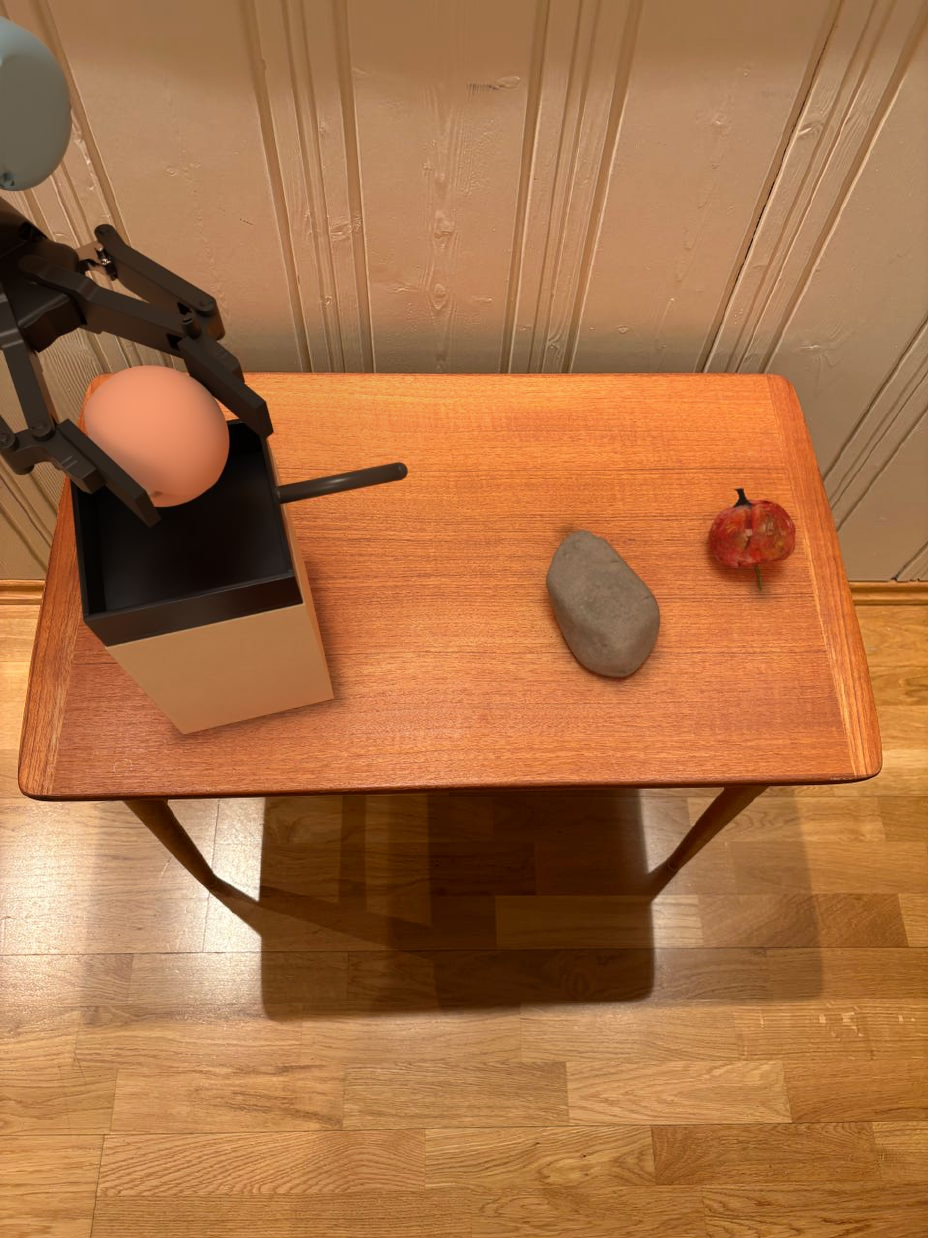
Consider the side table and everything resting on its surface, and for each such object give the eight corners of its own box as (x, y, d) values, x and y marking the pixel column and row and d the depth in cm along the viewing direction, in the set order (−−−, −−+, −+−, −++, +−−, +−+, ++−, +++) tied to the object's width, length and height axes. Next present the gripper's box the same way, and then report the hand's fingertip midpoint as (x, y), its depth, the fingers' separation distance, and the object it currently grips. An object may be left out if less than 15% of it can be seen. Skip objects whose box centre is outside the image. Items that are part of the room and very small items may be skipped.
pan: (106, 647, 54) (82, 621, 50) (89, 484, 59) (66, 449, 55) (430, 575, 57) (431, 545, 53) (388, 426, 62) (385, 389, 58)
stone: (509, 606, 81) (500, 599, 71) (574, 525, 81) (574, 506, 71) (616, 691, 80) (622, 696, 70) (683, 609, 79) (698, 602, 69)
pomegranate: (781, 575, 82) (769, 474, 80) (816, 590, 75) (805, 480, 73) (707, 591, 82) (693, 491, 80) (736, 608, 75) (722, 498, 73)
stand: (183, 735, 71) (104, 649, 54) (164, 600, 76) (87, 483, 59) (334, 698, 73) (305, 604, 56) (306, 570, 78) (272, 447, 61)
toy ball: (104, 439, 53) (53, 350, 45) (228, 411, 54) (197, 321, 47) (123, 546, 50) (71, 469, 42) (253, 514, 51) (224, 434, 44)
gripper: (118, 214, 58) (350, 402, 52) (-155, 378, 51) (77, 616, 45) (76, 108, 51) (339, 311, 45) (-244, 282, 44) (15, 547, 38)
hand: (208, 463), depth 45 cm, fingers closed on toy ball, 7 cm apart
